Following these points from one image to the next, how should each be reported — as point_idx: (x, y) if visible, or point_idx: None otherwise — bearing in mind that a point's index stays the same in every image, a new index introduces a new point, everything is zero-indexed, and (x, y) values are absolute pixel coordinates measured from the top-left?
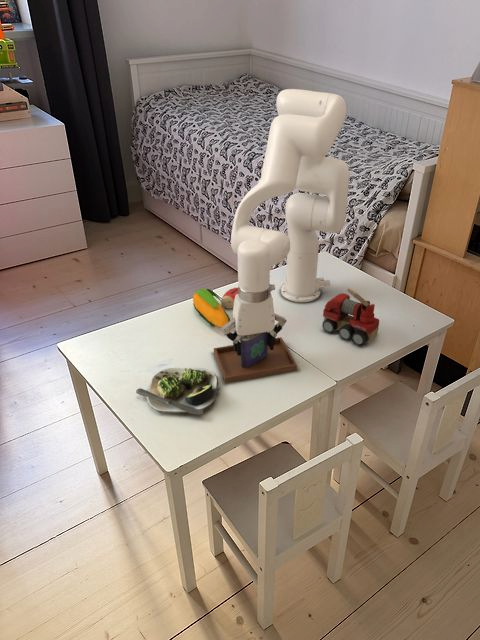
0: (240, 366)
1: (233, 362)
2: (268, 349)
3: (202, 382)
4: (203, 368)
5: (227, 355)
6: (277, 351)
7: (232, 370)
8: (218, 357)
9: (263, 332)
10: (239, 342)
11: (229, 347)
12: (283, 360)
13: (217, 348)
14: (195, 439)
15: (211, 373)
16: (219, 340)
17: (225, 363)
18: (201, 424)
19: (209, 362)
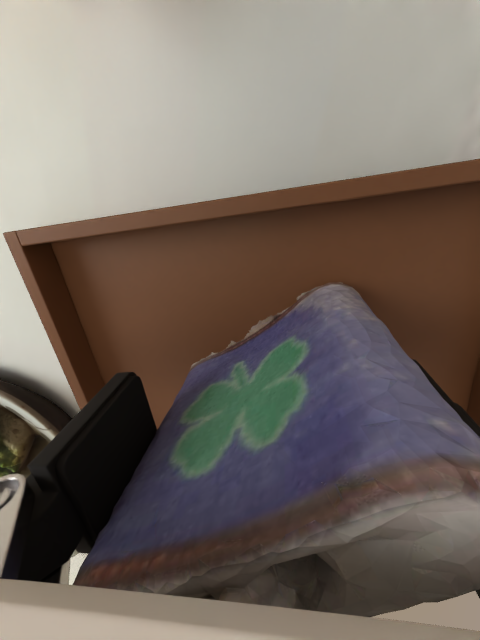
0: (186, 375)
1: (151, 339)
2: (386, 251)
3: (31, 447)
4: (2, 399)
5: (115, 271)
6: (441, 286)
7: (147, 395)
8: (53, 333)
9: (387, 605)
10: (91, 535)
11: (106, 234)
12: (435, 377)
13: (27, 242)
14: (72, 583)
15: (47, 433)
16: (43, 56)
17: (110, 340)
18: (76, 557)
19: (34, 305)
